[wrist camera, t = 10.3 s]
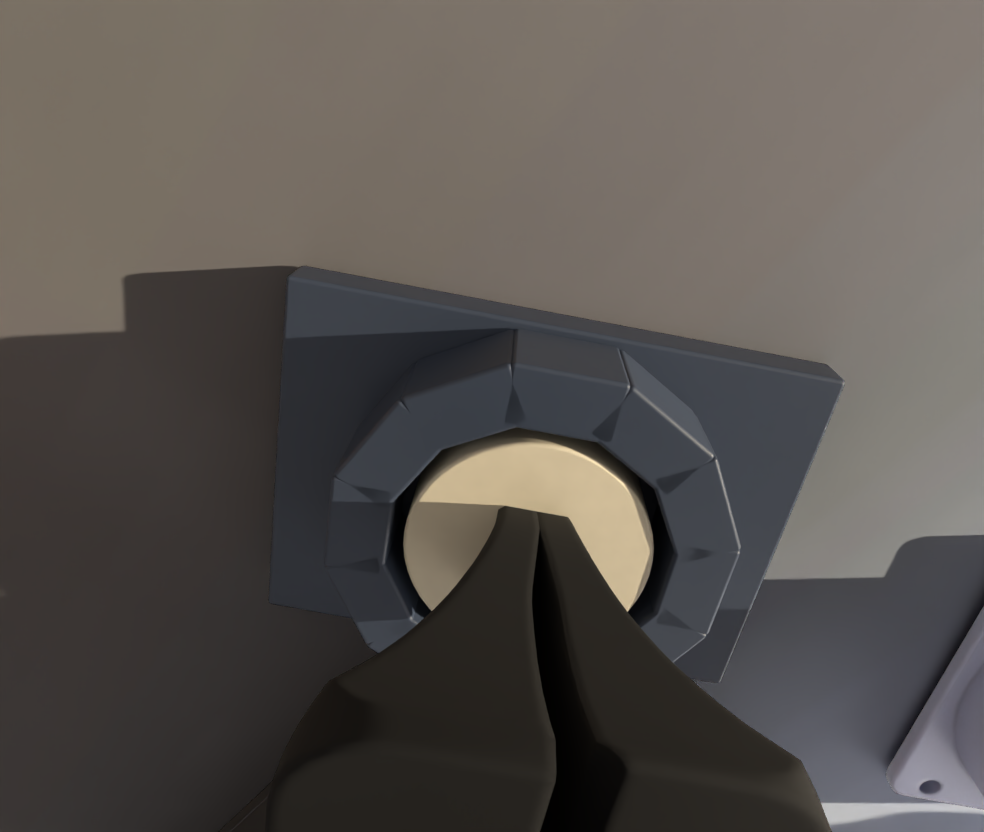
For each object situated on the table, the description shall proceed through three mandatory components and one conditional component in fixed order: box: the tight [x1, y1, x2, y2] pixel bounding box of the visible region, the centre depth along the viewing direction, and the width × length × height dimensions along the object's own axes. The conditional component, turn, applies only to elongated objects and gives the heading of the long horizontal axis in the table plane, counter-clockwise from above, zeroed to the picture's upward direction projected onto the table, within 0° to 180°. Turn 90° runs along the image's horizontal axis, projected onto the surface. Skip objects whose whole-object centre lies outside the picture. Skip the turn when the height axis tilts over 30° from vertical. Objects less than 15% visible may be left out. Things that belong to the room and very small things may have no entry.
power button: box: [403, 427, 654, 612], centre depth 14 cm, size 5×5×2 cm
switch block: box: [268, 266, 845, 683], centre depth 15 cm, size 11×8×3 cm
